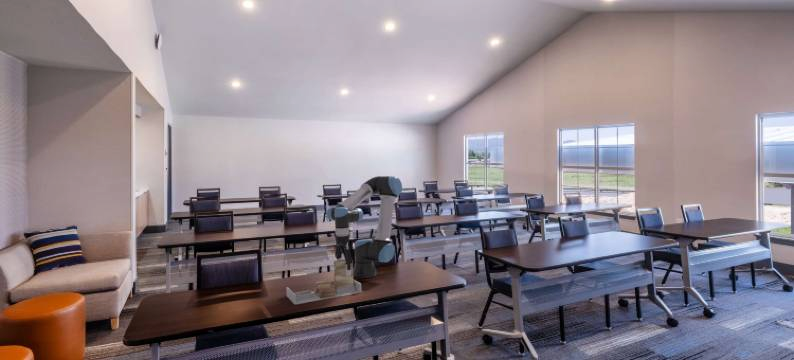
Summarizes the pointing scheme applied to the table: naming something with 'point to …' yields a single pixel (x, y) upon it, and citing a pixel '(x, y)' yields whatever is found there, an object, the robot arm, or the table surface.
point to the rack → (311, 296)
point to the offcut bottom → (324, 294)
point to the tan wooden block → (342, 275)
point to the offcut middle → (326, 290)
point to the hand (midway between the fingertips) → (344, 272)
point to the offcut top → (323, 285)
